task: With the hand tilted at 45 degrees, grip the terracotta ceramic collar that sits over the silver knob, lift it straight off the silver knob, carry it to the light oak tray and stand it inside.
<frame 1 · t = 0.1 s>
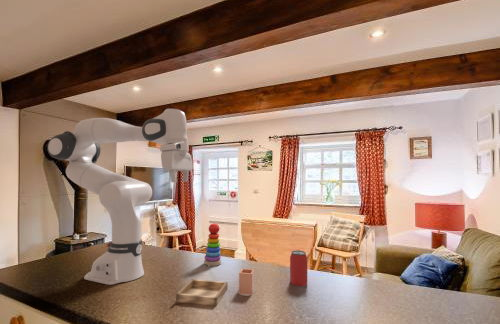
hand: (180, 182, 105), 39 cm above the kitchen counter, tool pointing down, fingers open, 8 cm apart
silver knob: (246, 293, 93), on the kitchen counter
tray: (203, 296, 90), on the kitchen counter
collar: (246, 291, 93), point 1 cm above the kitchen counter, touching silver knob
beer can: (298, 284, 101), on the kitchen counter
stacking toy: (212, 264, 123), on the kitchen counter
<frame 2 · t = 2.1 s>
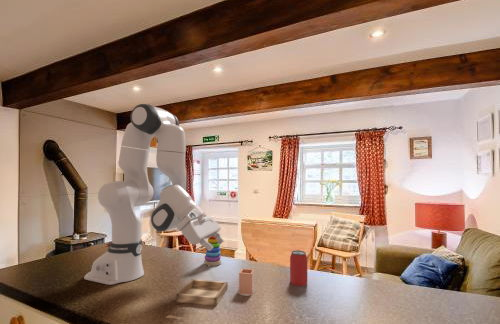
hand: (217, 245, 97), 15 cm above the kitchen counter, tool tilted 45°, fingers open, 8 cm apart
nothing on the kitchen counter moved.
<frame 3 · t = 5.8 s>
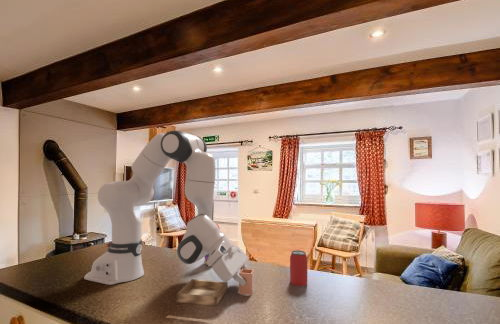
hand: (247, 280, 93), 4 cm above the kitchen counter, tool tilted 45°, fingers closed on collar, 5 cm apart
collar: (246, 291, 93), point 1 cm above the kitchen counter, touching gripper, silver knob
everything else where it was.
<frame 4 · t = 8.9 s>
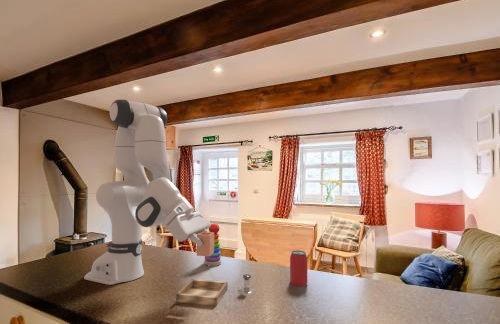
hand: (205, 243, 90), 18 cm above the kitchen counter, tool tilted 45°, fingers closed on collar, 5 cm apart
collar: (205, 254, 90), point 14 cm above the kitchen counter, touching gripper
everything else where it was.
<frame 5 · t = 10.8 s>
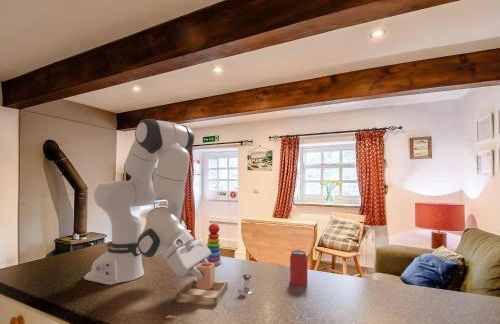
hand: (206, 274, 90), 8 cm above the kitchen counter, tool tilted 45°, fingers closed on collar, 5 cm apart
collar: (205, 285, 89), point 4 cm above the kitchen counter, touching gripper
everything else where it was.
when the fingers open (7 cm above the kitchen counter, at t = 11.9 s): collar drops 2 cm, resting on tray.
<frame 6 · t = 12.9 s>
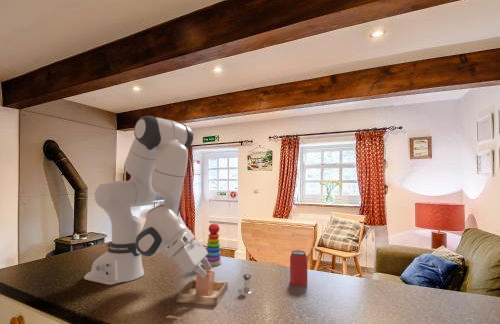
hand: (207, 272, 91), 8 cm above the kitchen counter, tool tilted 45°, fingers open, 6 cm apart
collar: (204, 293, 90), point 1 cm above the kitchen counter, tilted 8°, touching gripper, tray
everything else where it was.
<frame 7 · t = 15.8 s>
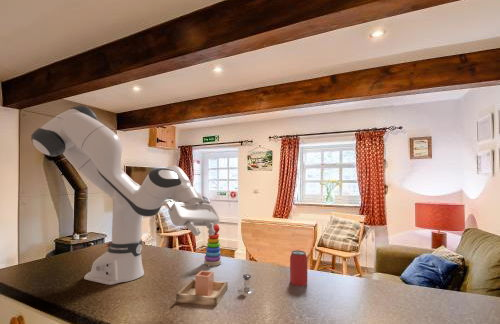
hand: (205, 234, 86), 22 cm above the kitchen counter, tool tilted 45°, fingers open, 6 cm apart
collar: (204, 294, 90), point 1 cm above the kitchen counter, touching tray
everything else where it was.
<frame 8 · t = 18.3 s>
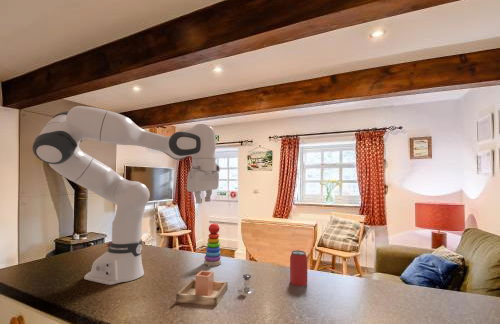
hand: (203, 202, 101), 31 cm above the kitchen counter, tool pointing down, fingers open, 6 cm apart
nothing on the kitchen counter moved.
at the end: collar inside the target area on the tray (0.4 cm from its centre), point 0.8 cm above the tray's base; collar tilted 0°; the gripper is holding nothing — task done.
